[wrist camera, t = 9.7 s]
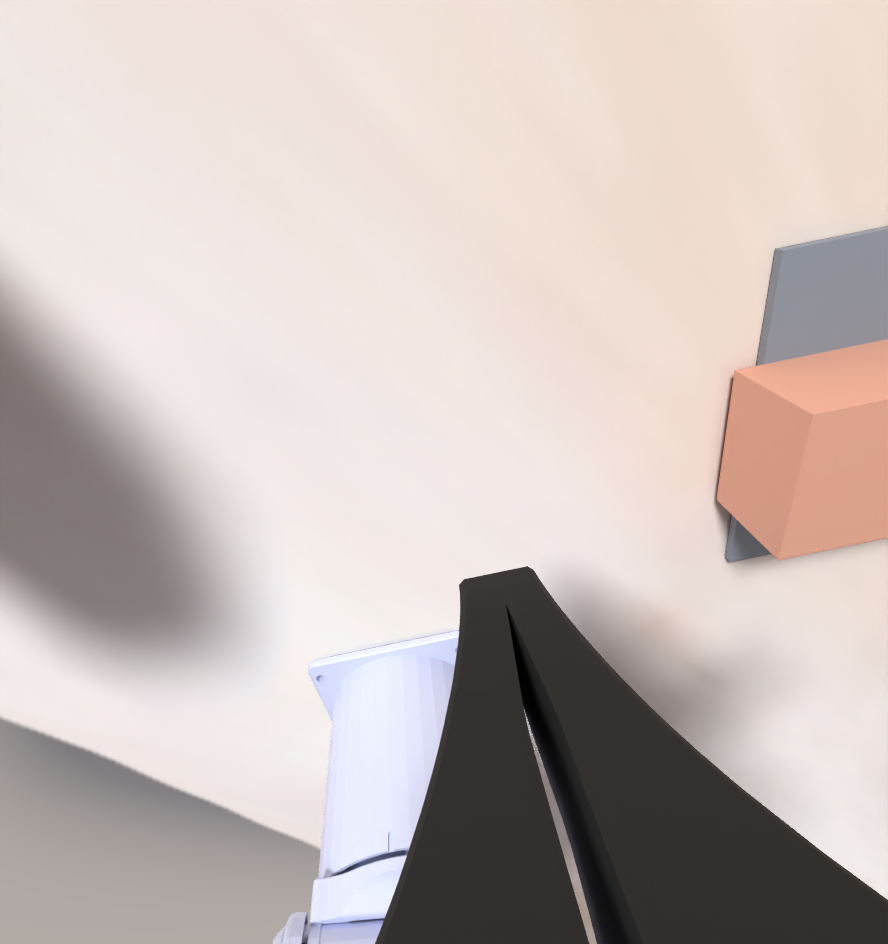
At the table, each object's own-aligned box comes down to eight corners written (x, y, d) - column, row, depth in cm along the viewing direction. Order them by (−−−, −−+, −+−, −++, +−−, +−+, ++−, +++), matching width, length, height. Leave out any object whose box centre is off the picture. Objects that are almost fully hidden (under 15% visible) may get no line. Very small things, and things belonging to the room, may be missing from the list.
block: (716, 499, 22) (940, 453, 22) (778, 560, 19) (1042, 505, 19) (734, 370, 19) (995, 316, 19) (813, 414, 15) (1131, 349, 15)
